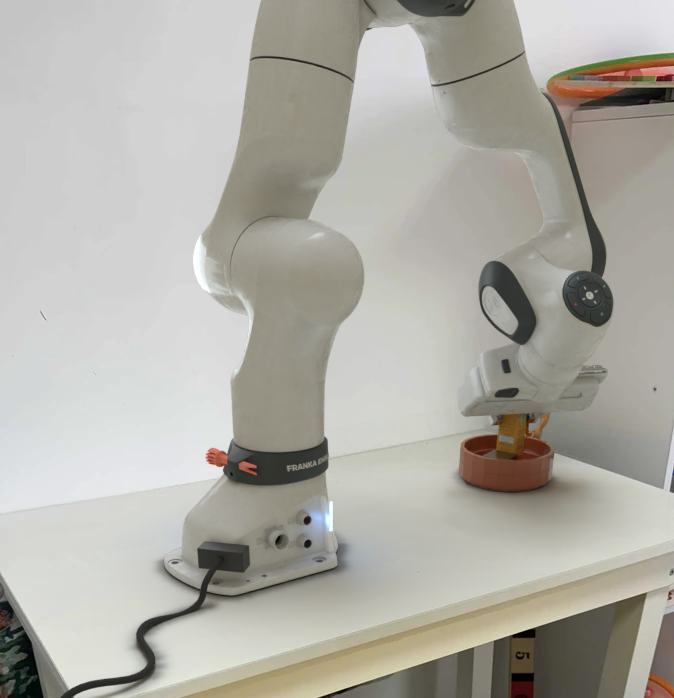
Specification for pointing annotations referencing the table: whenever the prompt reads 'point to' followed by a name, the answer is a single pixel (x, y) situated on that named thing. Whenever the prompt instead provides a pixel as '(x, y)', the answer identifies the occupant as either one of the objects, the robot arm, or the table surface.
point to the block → (501, 455)
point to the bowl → (505, 464)
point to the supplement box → (512, 433)
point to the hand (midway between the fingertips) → (511, 420)
